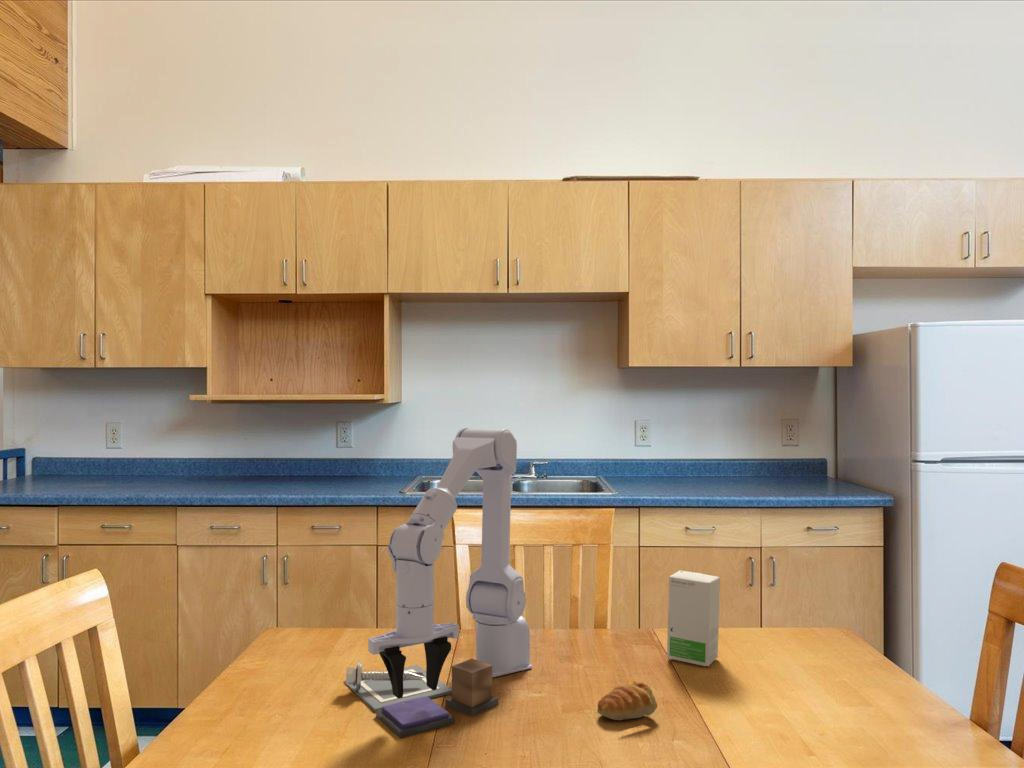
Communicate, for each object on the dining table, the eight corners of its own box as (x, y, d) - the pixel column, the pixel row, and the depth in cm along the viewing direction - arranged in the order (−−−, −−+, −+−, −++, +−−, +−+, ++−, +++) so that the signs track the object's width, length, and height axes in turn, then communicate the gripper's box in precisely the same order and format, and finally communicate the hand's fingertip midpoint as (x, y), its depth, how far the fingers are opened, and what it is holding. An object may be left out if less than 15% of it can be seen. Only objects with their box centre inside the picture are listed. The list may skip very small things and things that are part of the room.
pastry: (615, 728, 114) (615, 702, 114) (586, 711, 120) (586, 687, 120) (660, 712, 119) (661, 688, 119) (631, 697, 125) (631, 674, 125)
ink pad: (428, 703, 124) (428, 693, 124) (454, 723, 116) (454, 713, 116) (376, 716, 119) (376, 706, 119) (400, 738, 112) (400, 727, 112)
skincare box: (666, 659, 144) (665, 576, 144) (678, 649, 150) (677, 569, 150) (710, 667, 140) (709, 582, 140) (720, 656, 145) (720, 574, 146)
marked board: (417, 667, 140) (417, 664, 140) (453, 693, 128) (453, 689, 128) (343, 683, 132) (343, 680, 132) (375, 712, 121) (375, 708, 121)
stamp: (471, 695, 127) (471, 656, 127) (498, 705, 123) (498, 665, 123) (445, 706, 123) (445, 666, 123) (472, 717, 119) (472, 675, 119)
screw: (345, 696, 125) (347, 666, 125) (345, 685, 130) (347, 656, 130) (424, 696, 128) (426, 666, 128) (422, 685, 133) (424, 657, 133)
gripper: (444, 590, 125) (444, 674, 125) (360, 604, 117) (360, 693, 117) (465, 600, 119) (466, 688, 119) (378, 615, 111) (378, 709, 111)
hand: (415, 691), depth 118 cm, fingers open, 5 cm apart
